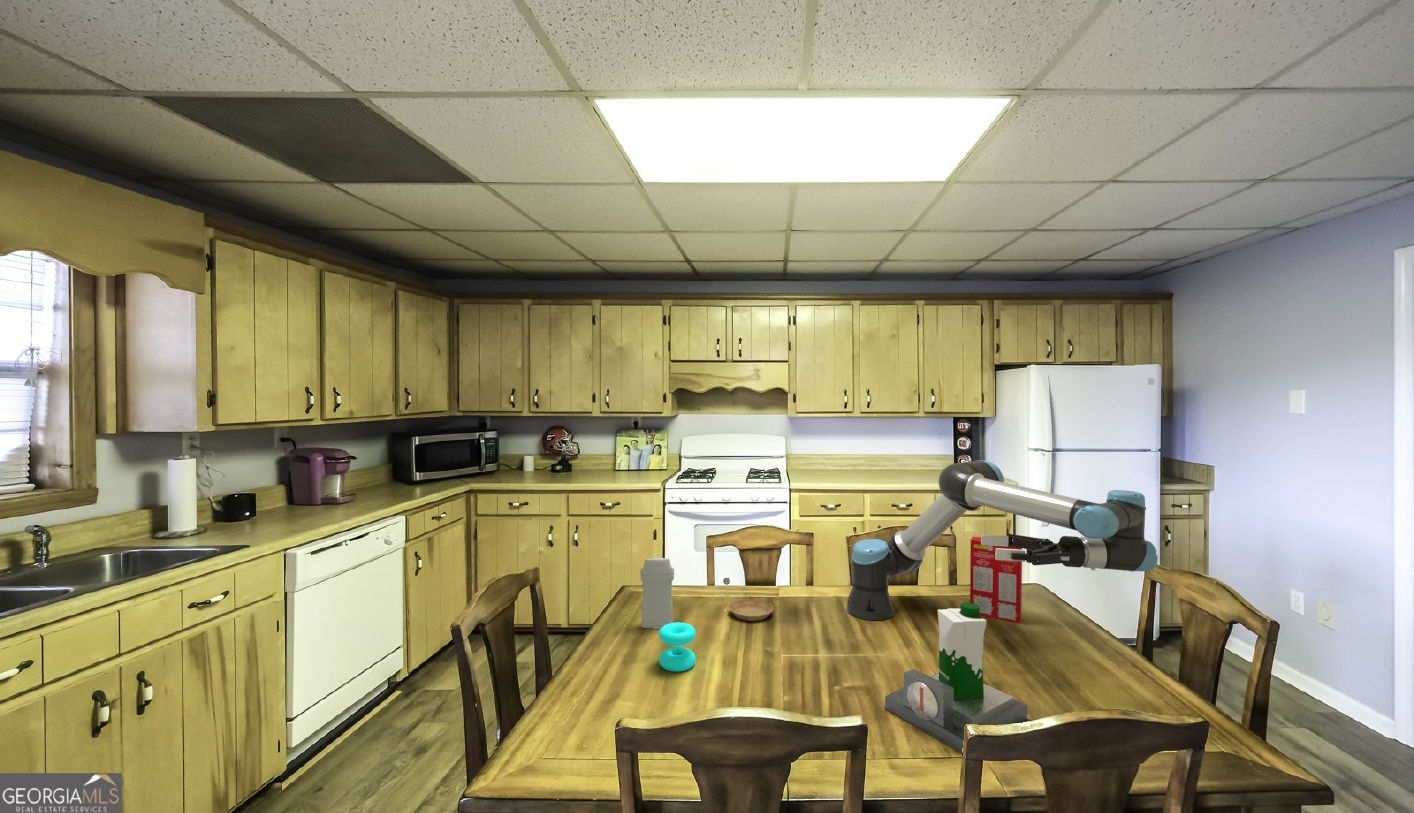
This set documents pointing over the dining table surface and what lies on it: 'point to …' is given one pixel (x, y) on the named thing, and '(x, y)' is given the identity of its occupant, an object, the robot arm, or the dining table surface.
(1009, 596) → the food packaging
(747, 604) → the plant saucer
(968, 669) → the soya milk
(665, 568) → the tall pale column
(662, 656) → the donuts
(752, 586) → the dining table surface
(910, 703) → the scale
